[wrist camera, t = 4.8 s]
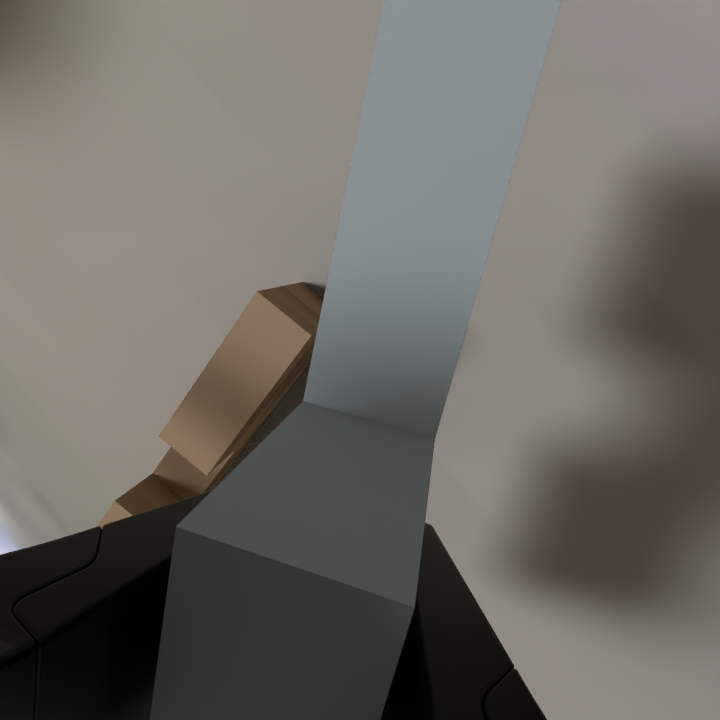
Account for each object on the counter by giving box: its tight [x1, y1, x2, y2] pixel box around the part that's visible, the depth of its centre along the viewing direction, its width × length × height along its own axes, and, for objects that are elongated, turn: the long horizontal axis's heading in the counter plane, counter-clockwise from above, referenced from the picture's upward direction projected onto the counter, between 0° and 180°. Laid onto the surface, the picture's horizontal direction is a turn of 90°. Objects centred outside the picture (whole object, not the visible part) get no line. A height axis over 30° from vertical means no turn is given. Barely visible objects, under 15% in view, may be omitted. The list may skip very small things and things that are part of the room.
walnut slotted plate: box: [97, 282, 323, 528], centre depth 21 cm, size 18×2×5 cm, turn 142°
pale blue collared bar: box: [150, 0, 561, 720], centre depth 9 cm, size 18×2×9 cm, turn 167°
